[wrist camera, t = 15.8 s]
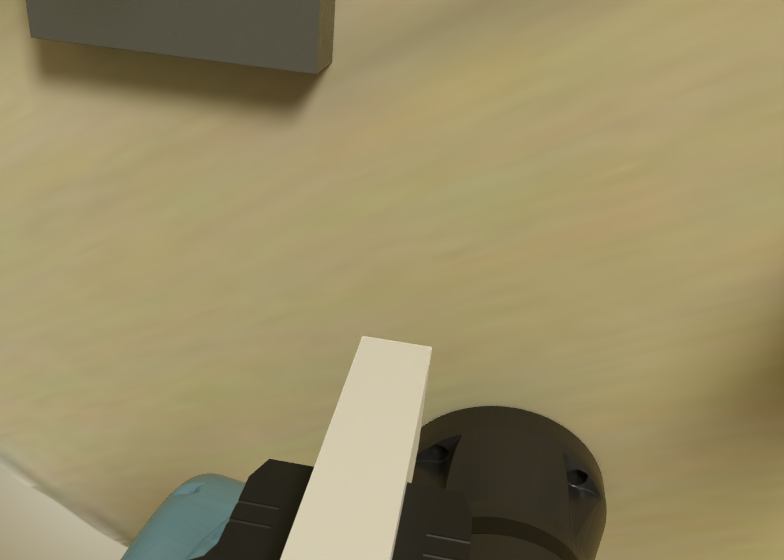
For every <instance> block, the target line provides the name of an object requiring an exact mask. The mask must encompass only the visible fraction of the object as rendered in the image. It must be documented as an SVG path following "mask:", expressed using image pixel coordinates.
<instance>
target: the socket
mask: <svg viewBox="0 0 784 560" xmlns="http://www.w3.org/2000/svg"><path fill="white" fill-rule="evenodd" d="M26 4H27V12H28V19H29V26H30V34H31V37H32V38H40V39H48V40H55V41H63V42H71V43H79V44H86V45H94V46H102V47H110V48H117V49H125V50H133V51H141V52H148V53H156V54H164V55H172V56H179V57H187V58H195V59H203V60H210V61H218V62H226V63H234V64H241V65H249V66H257V67H265V68H272V69H280V70H288V71H296V72H303V73H311V74H318V73H319V72H320V71H321V70H323V69H324V68H325V67H326V66H328V65H329V64H330V63H331V62H332V52H333V32H334V13H335V0H26Z"/></svg>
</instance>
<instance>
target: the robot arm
mask: <svg viewBox="0 0 784 560" xmlns="http://www.w3.org/2000/svg"><path fill="white" fill-rule="evenodd" d="M431 352H432V347H428V346H422V345H416V344H410V343H404V342H398V341H391V340H385V339H379V338H373V337H367V336H362V339H361V341H360V344H359V347H358V350H357V352H356V355H355V358H354V360H353V363H352V366H351V369H350V371H349V374H348V377H347V379H346V382H345V385H344V388H343V390H342V393H341V396H340V398H339V401H338V404H337V407H336V409H335V412H334V415H333V417H332V420H331V423H330V426H329V428H328V431H327V434H326V436H325V439H324V442H323V445H322V447H321V450H320V453H319V455H318V458H317V461H316V464H315V466H314V467H311V466H306V465H300V464H295V463H289V462H284V461H278V460H273V459H269V460H268V461H267V462H265V463H264V464H263V465H262V466H261V467H260V468H258V469H257V470H256V471H255V472H254V473H253V474H251V475H250V476H249V478H248V480H247V482H246V483H243V482H241V481H238V480H235V479H232V478H229V477H226V476H223V475H219V474H211V473H209V474H202V475H198V476H195V477H193V478H191V479H189V480H187V481H186V482H184V483H183V484H182V485H180V486H179V487H178V488H177V489H176V490H175V491H174V492H173V493H172V494H171V495H170V496H169V497H168V498H167V499H166V500H165V501H164V502H163V503H162V505H161V506H160V507H159V508H158V509H157V511H156V512H155V513H154V514H153V516H152V517H151V518H150V519H149V521H148V522H147V523H146V525H145V526H144V527H143V529H142V530H141V531H140V533H139V534H138V536H137V537H136V538H135V540H134V541H133V543H132V544H131V545H130V547H129V548H128V550H127V551H126V553H125V554H124V556H123V557H122V558H121V560H595V557H596V554H597V551H598V548H599V545H600V541H601V538H602V535H603V532H604V528H605V523H606V499H605V492H604V485H603V479H602V475H601V472H600V469H599V466H598V464H597V462H596V460H595V458H594V457H593V455H592V454H591V452H590V451H589V449H588V448H587V447H586V446H585V445H584V444H583V443H582V441H581V440H580V439H579V438H577V437H576V436H575V435H574V434H573V433H571V432H570V431H569V430H567V429H566V428H564V427H563V426H561V425H560V424H558V423H556V422H554V421H552V420H550V419H548V418H546V417H544V416H541V415H539V414H536V413H533V412H529V411H526V410H522V409H517V408H510V407H501V406H482V407H472V408H467V409H462V410H458V411H455V412H451V413H448V414H446V415H443V416H441V417H439V418H437V419H435V420H433V421H431V422H430V423H428V424H427V425H425V426H424V427H423V428H421V424H422V417H423V409H424V402H425V395H426V388H427V381H428V374H429V367H430V359H431Z"/></svg>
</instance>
